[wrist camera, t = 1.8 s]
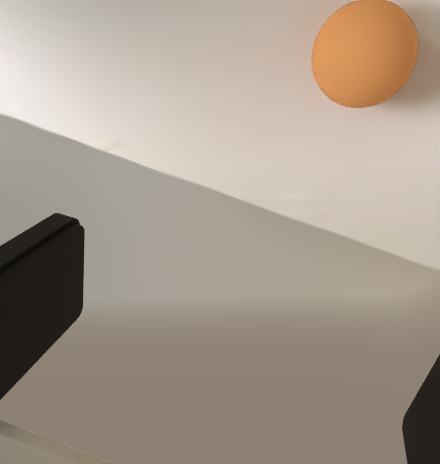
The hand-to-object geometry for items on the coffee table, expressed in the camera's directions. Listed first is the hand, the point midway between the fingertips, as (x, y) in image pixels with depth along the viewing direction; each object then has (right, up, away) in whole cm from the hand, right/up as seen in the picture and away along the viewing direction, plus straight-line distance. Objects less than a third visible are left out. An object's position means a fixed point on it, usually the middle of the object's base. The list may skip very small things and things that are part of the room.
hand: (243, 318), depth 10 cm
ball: (+8, +13, +14) cm, 21 cm away
